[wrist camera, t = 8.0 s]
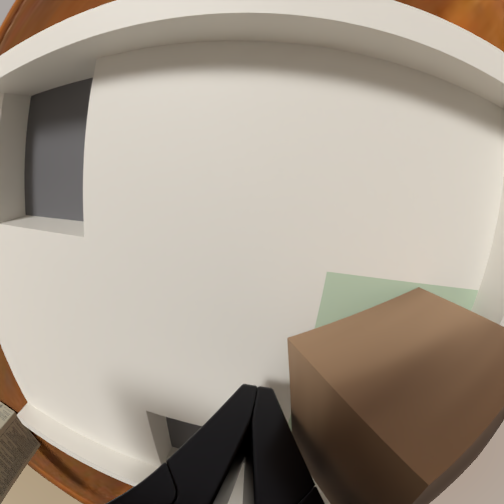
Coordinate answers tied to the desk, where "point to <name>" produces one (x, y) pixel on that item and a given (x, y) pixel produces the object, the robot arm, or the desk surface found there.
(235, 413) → the robot arm
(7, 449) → the skincare box
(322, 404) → the block
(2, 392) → the desk surface
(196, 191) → the platform
